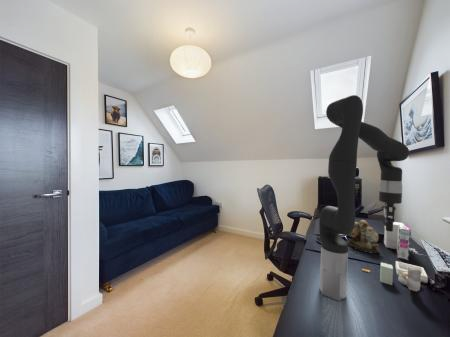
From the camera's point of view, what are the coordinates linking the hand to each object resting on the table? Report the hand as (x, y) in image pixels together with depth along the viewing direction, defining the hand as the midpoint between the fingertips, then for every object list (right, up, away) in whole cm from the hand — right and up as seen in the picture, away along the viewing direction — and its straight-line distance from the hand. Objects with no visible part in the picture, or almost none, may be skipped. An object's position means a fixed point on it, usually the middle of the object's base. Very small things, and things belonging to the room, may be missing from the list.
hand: (388, 228), depth 86 cm
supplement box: (+35, -23, +39) cm, 58 cm away
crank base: (+3, -23, +3) cm, 24 cm away
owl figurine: (+13, -23, +36) cm, 45 cm away
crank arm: (+5, -21, -5) cm, 22 cm away
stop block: (-1, -23, +1) cm, 23 cm away
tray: (+15, -23, +7) cm, 29 cm away
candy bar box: (+29, -24, +26) cm, 46 cm away
